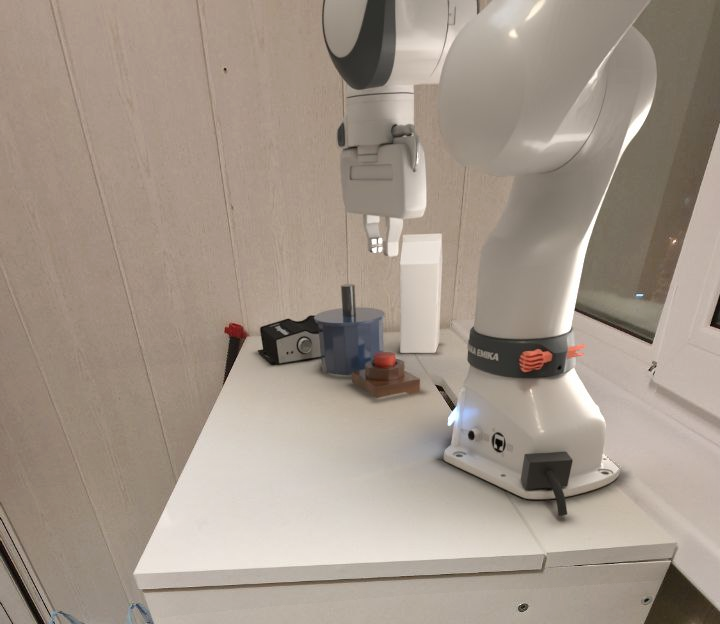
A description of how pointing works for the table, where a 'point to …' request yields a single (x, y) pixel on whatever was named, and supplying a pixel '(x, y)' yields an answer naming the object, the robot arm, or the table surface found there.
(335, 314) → the lid
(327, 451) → the table surface
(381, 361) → the button
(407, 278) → the milk carton
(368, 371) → the block
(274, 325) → the electronic device
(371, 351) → the pot
